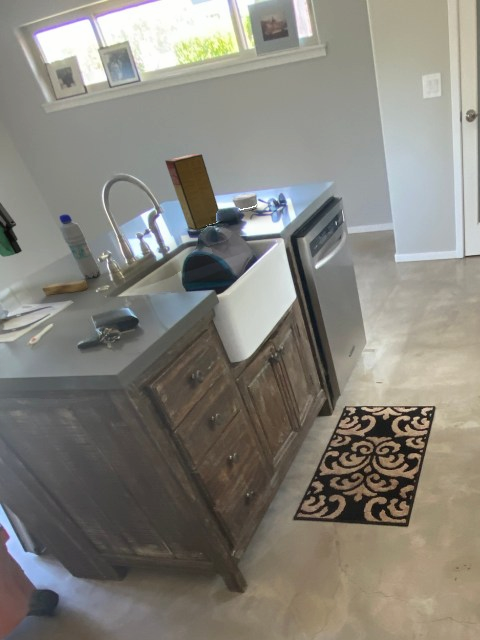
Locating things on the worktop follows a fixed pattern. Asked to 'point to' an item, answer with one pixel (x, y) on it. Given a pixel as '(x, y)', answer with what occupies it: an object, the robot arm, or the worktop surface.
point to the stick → (65, 287)
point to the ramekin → (245, 201)
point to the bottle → (79, 247)
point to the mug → (5, 245)
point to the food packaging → (193, 190)
